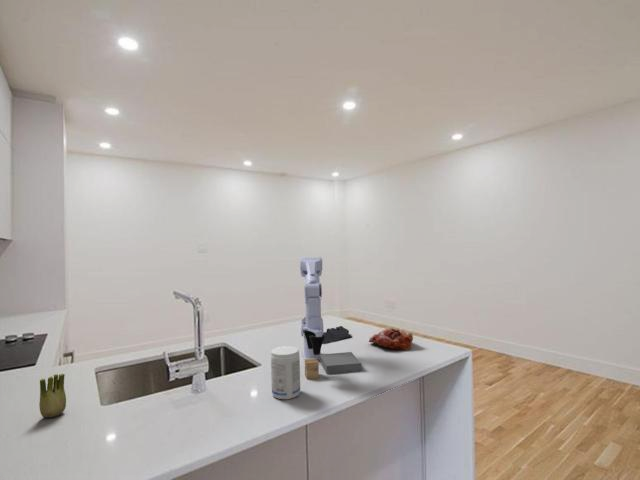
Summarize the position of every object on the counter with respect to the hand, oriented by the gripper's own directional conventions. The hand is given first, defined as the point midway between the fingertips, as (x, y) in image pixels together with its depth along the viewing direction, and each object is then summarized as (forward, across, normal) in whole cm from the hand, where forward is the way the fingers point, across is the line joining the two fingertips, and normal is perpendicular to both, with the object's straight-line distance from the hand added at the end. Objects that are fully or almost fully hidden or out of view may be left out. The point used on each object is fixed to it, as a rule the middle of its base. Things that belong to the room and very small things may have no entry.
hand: (313, 351), depth 128 cm
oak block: (+10, -1, -1) cm, 10 cm away
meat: (+10, -26, +46) cm, 53 cm away
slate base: (+9, -7, +13) cm, 18 cm away
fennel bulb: (+10, +3, -82) cm, 82 cm away
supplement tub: (+10, +11, -13) cm, 20 cm away
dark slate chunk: (+10, -48, +23) cm, 54 cm away
